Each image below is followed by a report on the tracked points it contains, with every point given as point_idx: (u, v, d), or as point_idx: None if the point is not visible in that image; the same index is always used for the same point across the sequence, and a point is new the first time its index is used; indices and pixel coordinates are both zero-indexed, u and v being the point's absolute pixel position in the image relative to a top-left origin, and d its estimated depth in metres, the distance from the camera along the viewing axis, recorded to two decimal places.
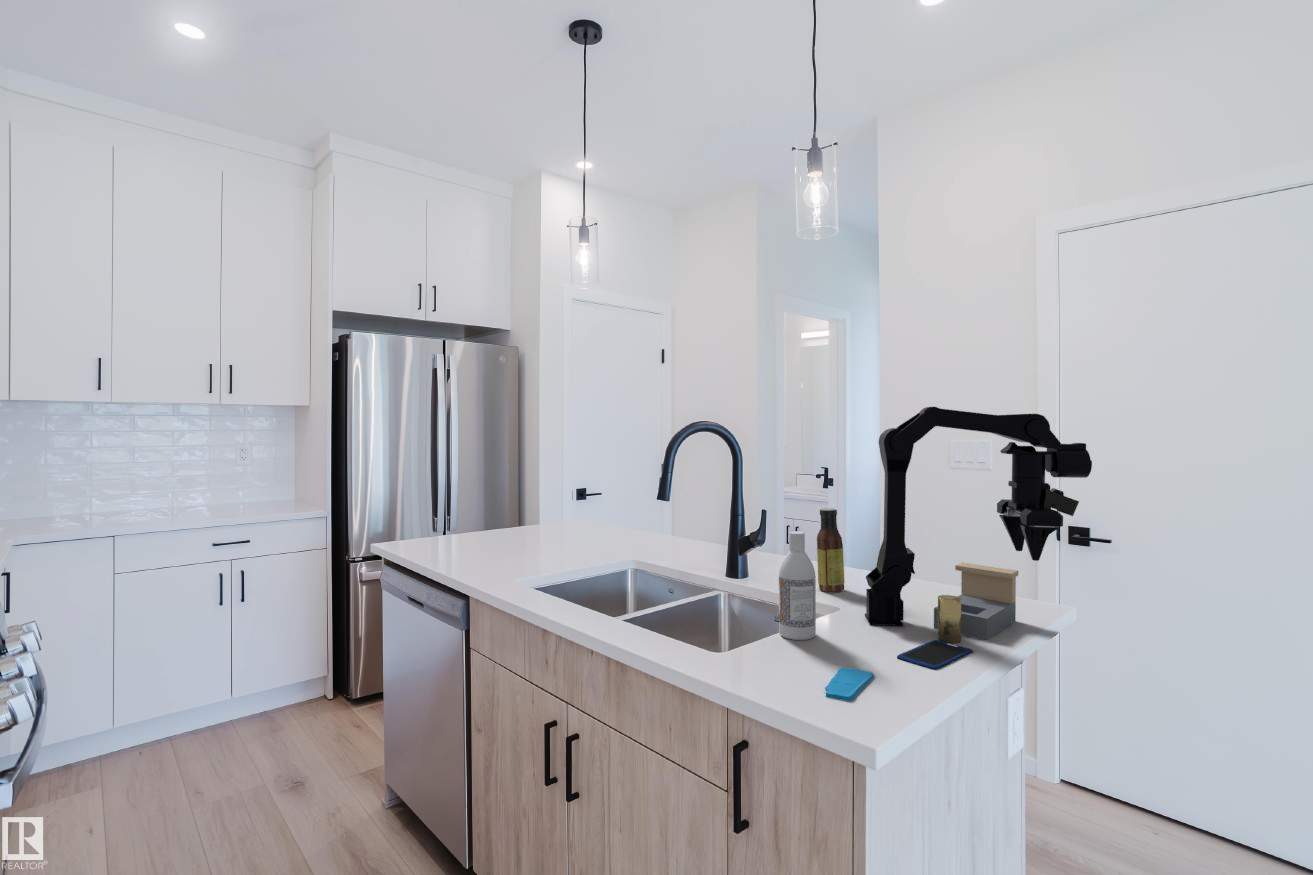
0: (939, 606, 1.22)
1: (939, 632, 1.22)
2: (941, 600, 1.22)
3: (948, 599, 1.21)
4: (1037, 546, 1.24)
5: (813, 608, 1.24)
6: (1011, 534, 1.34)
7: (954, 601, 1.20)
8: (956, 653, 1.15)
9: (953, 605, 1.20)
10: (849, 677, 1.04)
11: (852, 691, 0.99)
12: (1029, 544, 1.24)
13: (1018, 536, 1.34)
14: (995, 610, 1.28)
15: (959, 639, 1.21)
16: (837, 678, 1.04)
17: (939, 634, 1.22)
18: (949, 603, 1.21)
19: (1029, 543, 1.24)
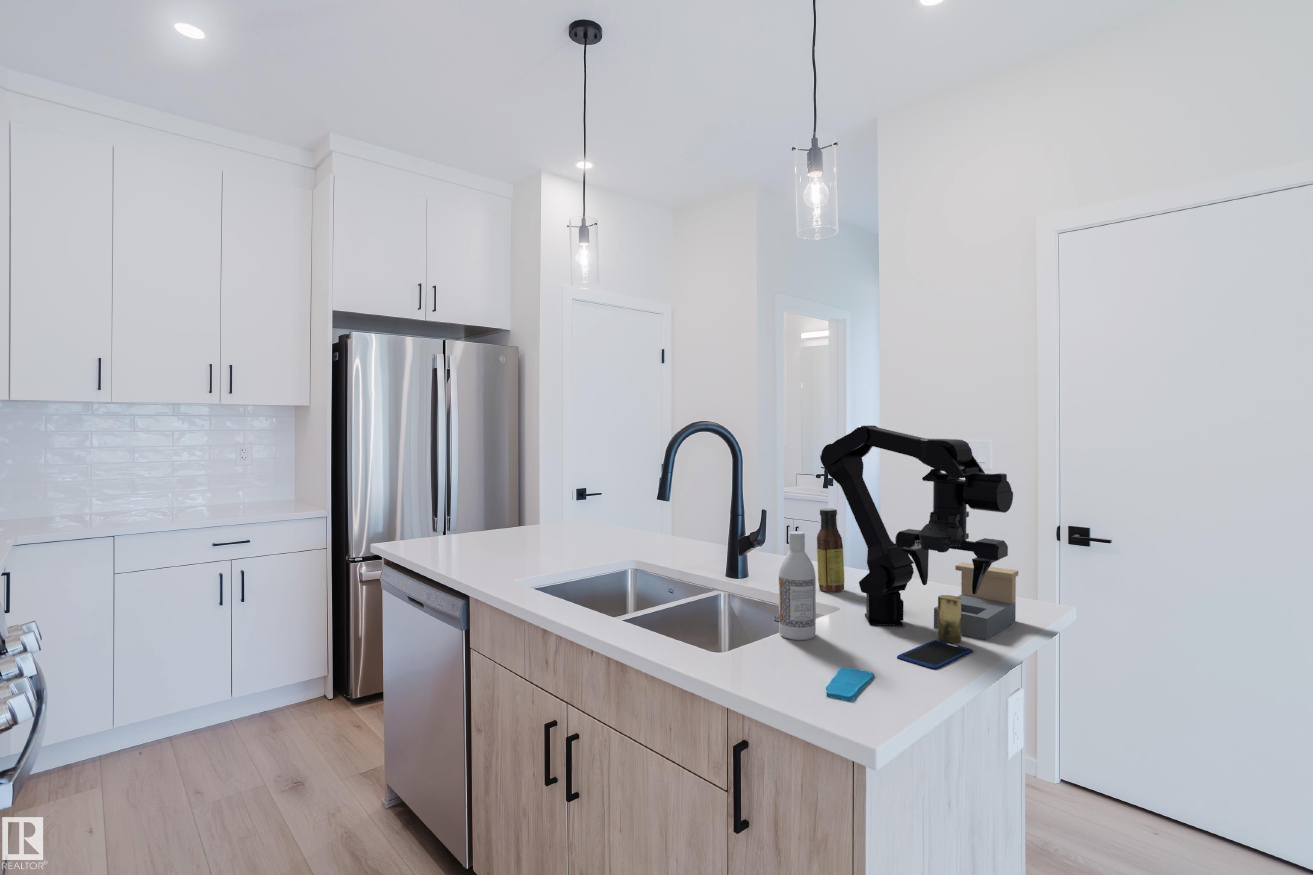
0: (939, 606, 1.22)
1: (939, 632, 1.22)
2: (941, 600, 1.22)
3: (948, 599, 1.21)
4: None
5: (813, 608, 1.24)
6: None
7: (954, 601, 1.20)
8: (956, 653, 1.15)
9: (953, 605, 1.20)
10: (849, 677, 1.04)
11: (853, 691, 0.99)
12: None
13: None
14: (995, 610, 1.28)
15: (959, 639, 1.21)
16: (837, 678, 1.04)
17: (939, 634, 1.22)
18: (949, 603, 1.21)
19: None
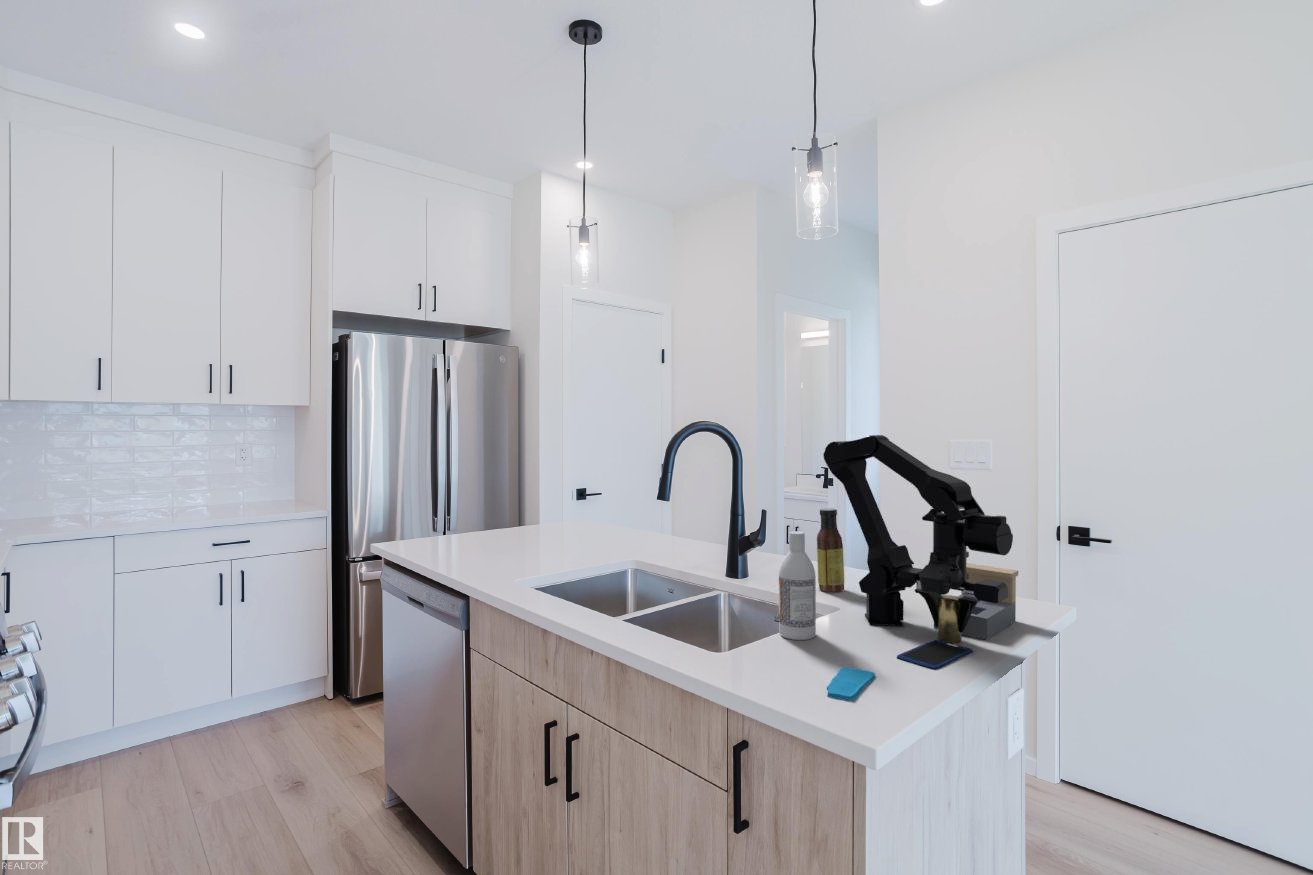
0: (939, 606, 1.22)
1: (939, 632, 1.22)
2: (941, 600, 1.22)
3: (948, 599, 1.21)
4: None
5: (813, 608, 1.24)
6: None
7: (954, 601, 1.20)
8: (956, 653, 1.15)
9: (953, 605, 1.20)
10: (850, 677, 1.04)
11: (854, 691, 0.99)
12: None
13: None
14: (995, 610, 1.28)
15: (959, 639, 1.21)
16: (838, 677, 1.04)
17: (939, 634, 1.22)
18: (949, 603, 1.21)
19: None
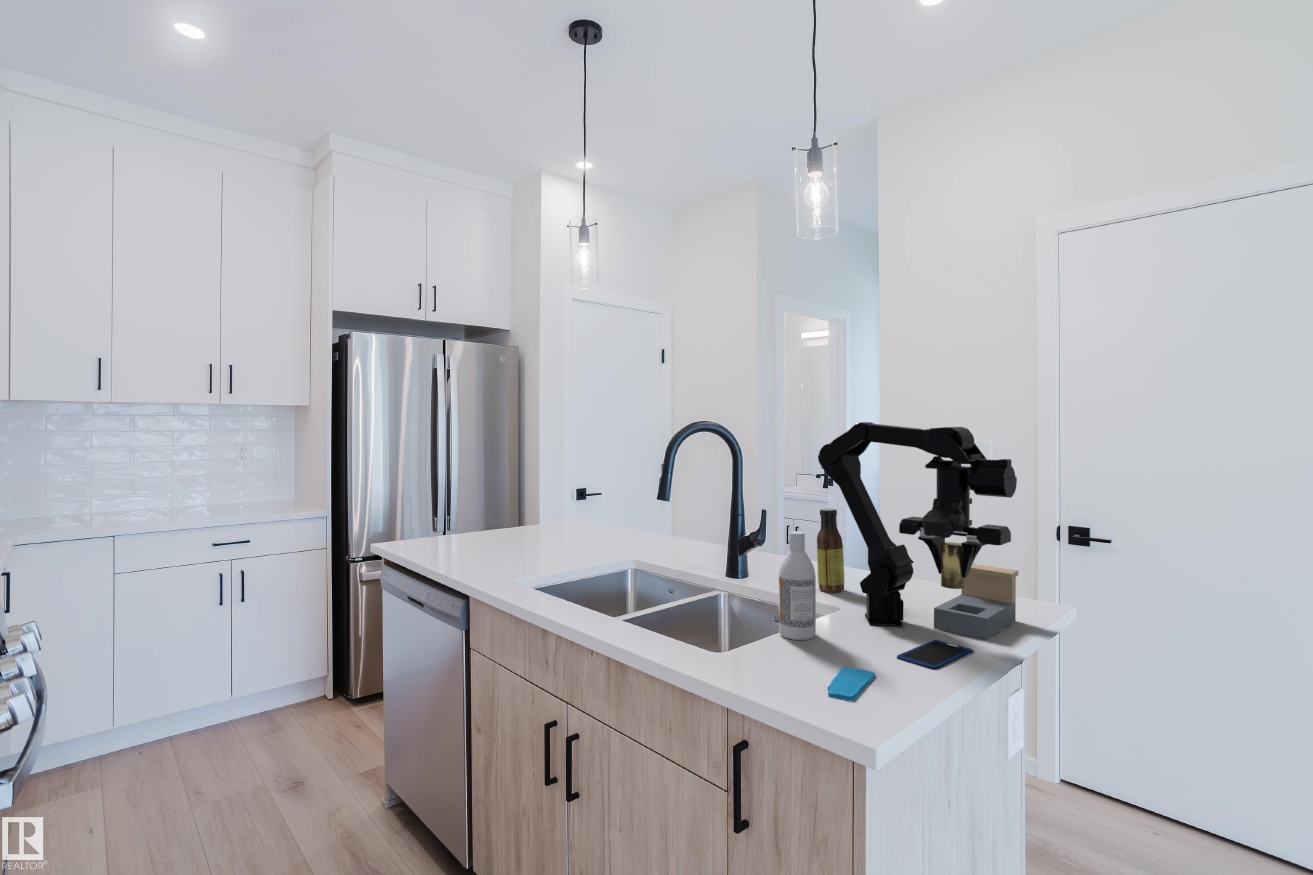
0: (942, 552, 1.23)
1: (942, 578, 1.23)
2: (944, 546, 1.22)
3: (951, 545, 1.22)
4: None
5: (813, 608, 1.24)
6: None
7: (957, 546, 1.21)
8: (956, 653, 1.15)
9: (956, 550, 1.21)
10: (851, 677, 1.04)
11: (854, 691, 0.99)
12: None
13: None
14: (995, 610, 1.28)
15: (962, 585, 1.22)
16: (839, 677, 1.04)
17: (942, 580, 1.23)
18: (952, 549, 1.21)
19: None
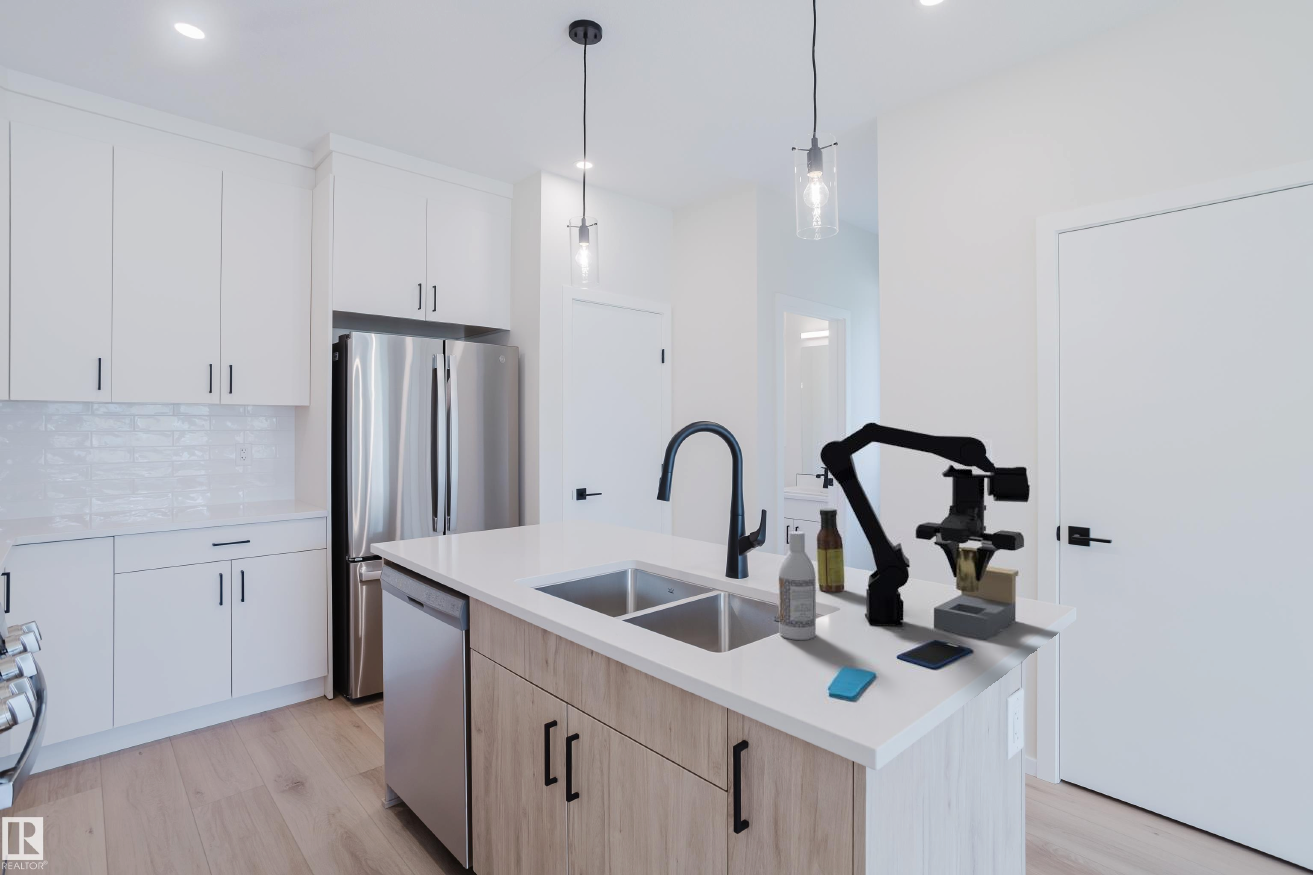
0: (958, 557, 1.28)
1: (957, 581, 1.28)
2: (960, 551, 1.28)
3: (966, 550, 1.27)
4: None
5: (813, 608, 1.24)
6: None
7: (972, 551, 1.27)
8: (956, 653, 1.15)
9: (971, 555, 1.27)
10: (851, 677, 1.04)
11: (855, 691, 0.99)
12: None
13: None
14: (995, 610, 1.28)
15: (977, 588, 1.27)
16: (839, 677, 1.04)
17: (957, 583, 1.28)
18: (967, 553, 1.27)
19: None
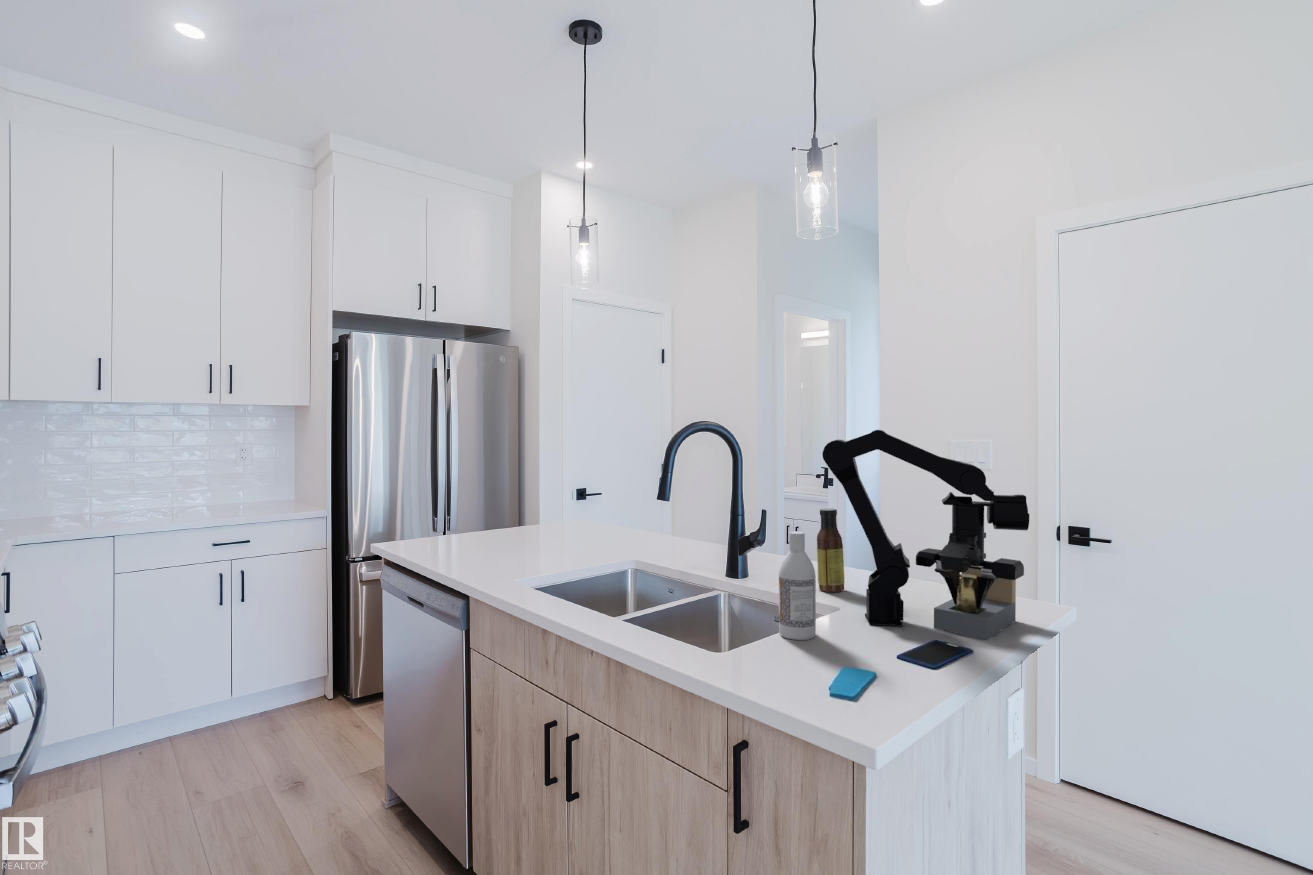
0: (958, 584, 1.28)
1: (958, 609, 1.29)
2: (960, 578, 1.28)
3: (966, 577, 1.28)
4: None
5: (813, 608, 1.24)
6: None
7: (972, 579, 1.27)
8: (956, 653, 1.15)
9: (971, 583, 1.27)
10: (852, 677, 1.04)
11: (856, 691, 0.99)
12: None
13: None
14: (995, 610, 1.28)
15: None
16: (840, 677, 1.04)
17: None
18: (968, 581, 1.27)
19: None
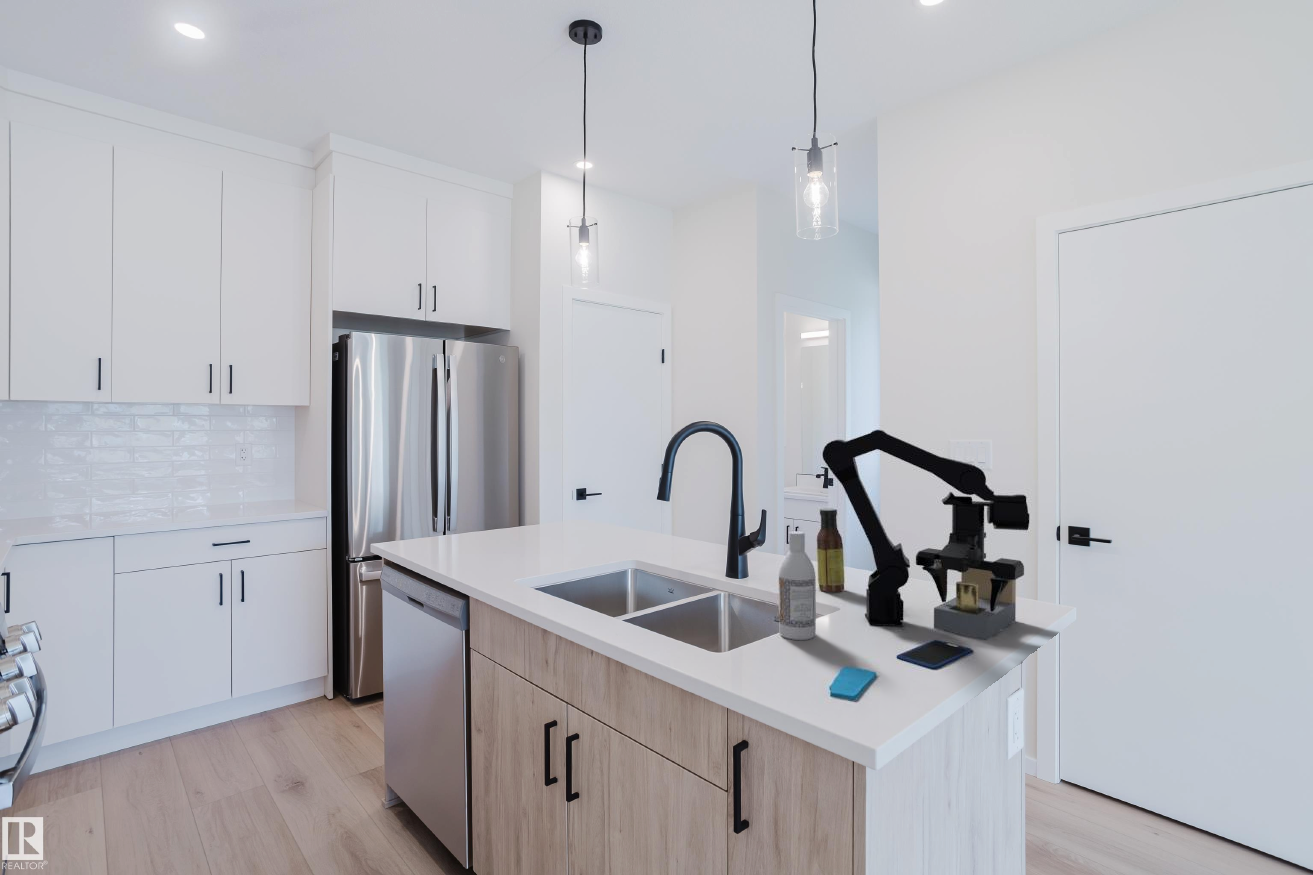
0: (957, 591, 1.29)
1: None
2: (959, 586, 1.28)
3: (966, 585, 1.28)
4: None
5: (813, 608, 1.24)
6: None
7: (972, 586, 1.27)
8: (956, 653, 1.15)
9: (971, 590, 1.27)
10: (852, 676, 1.04)
11: (856, 690, 0.99)
12: None
13: None
14: (995, 610, 1.28)
15: None
16: (840, 677, 1.04)
17: None
18: (967, 588, 1.27)
19: None
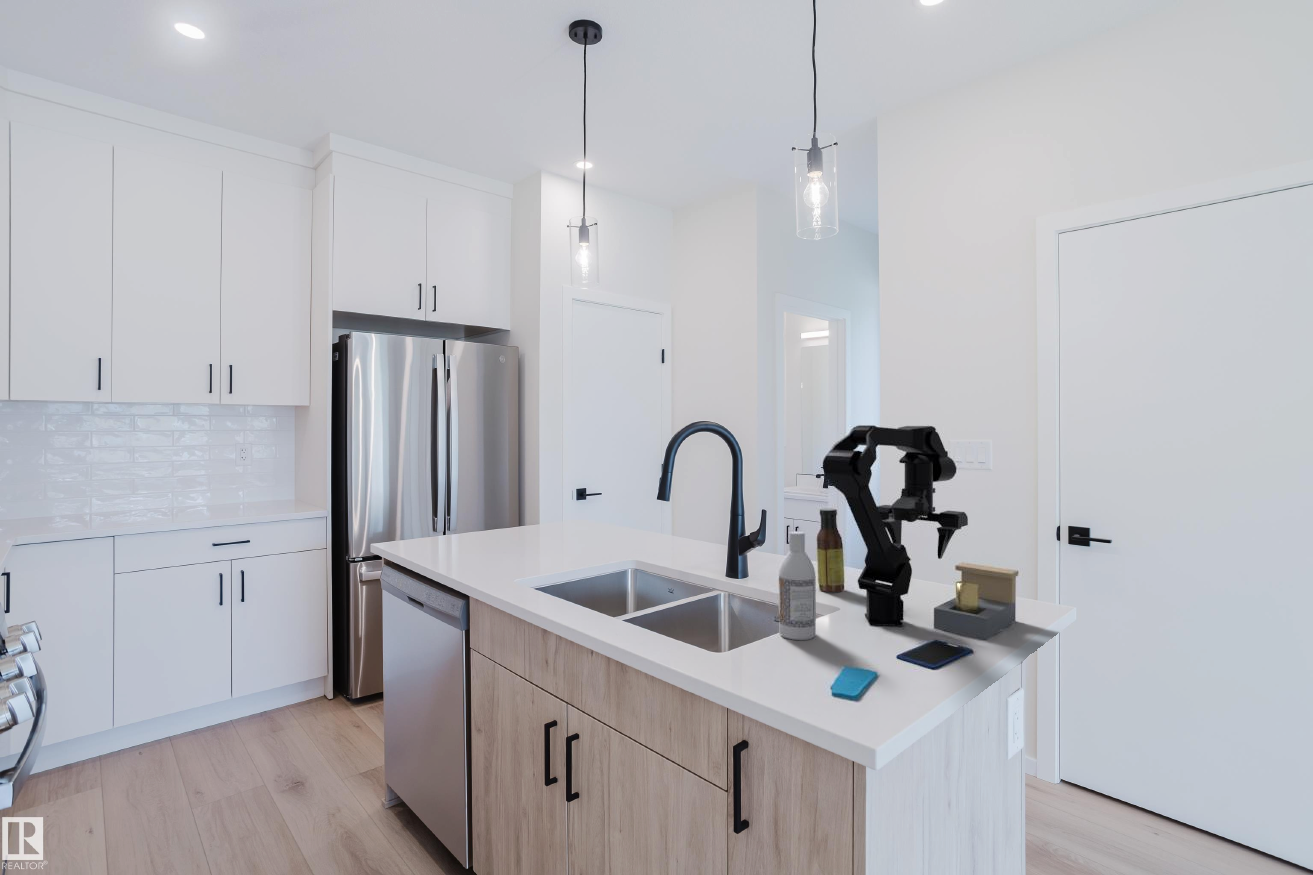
0: (957, 591, 1.29)
1: None
2: (959, 585, 1.28)
3: (966, 584, 1.28)
4: None
5: (813, 608, 1.24)
6: None
7: (972, 586, 1.27)
8: (956, 653, 1.15)
9: (971, 589, 1.27)
10: (853, 676, 1.04)
11: (858, 690, 0.99)
12: None
13: None
14: (995, 610, 1.28)
15: None
16: (841, 677, 1.04)
17: None
18: (967, 588, 1.27)
19: None
